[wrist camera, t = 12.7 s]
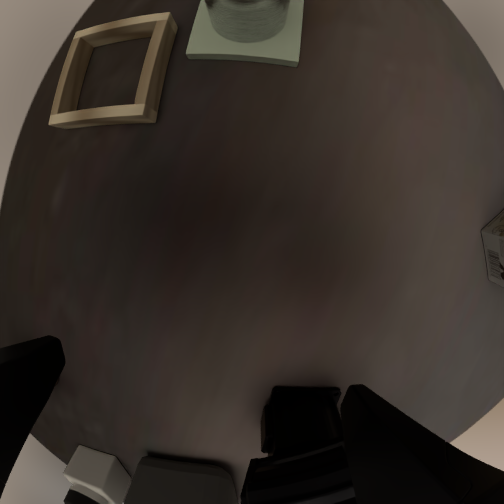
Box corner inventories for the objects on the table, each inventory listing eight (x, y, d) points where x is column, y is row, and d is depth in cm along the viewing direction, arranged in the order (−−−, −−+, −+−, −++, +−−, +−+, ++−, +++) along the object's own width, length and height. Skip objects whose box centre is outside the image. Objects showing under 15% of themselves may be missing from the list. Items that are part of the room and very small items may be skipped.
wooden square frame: (177, 27, 15) (169, 12, 13) (155, 123, 17) (142, 115, 15) (89, 42, 15) (76, 31, 13) (66, 129, 17) (48, 124, 14)
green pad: (302, -2, 14) (304, -9, 13) (296, 67, 16) (298, 62, 15) (207, -9, 14) (206, -16, 13) (188, 59, 16) (185, 53, 15)
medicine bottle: (78, 443, 26) (49, 495, 15) (116, 455, 26) (90, 515, 14) (96, 467, 28) (74, 515, 16) (132, 477, 28) (113, 531, 16)
